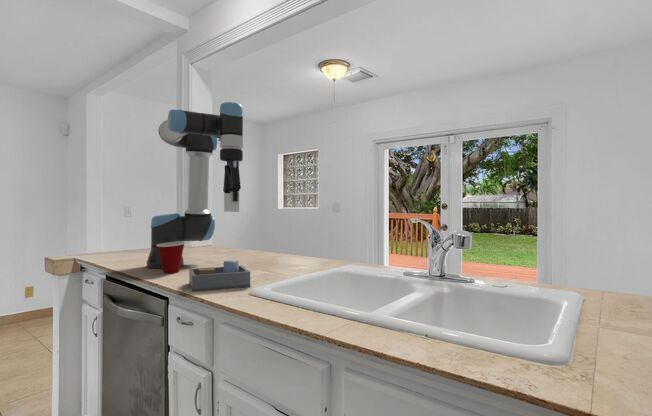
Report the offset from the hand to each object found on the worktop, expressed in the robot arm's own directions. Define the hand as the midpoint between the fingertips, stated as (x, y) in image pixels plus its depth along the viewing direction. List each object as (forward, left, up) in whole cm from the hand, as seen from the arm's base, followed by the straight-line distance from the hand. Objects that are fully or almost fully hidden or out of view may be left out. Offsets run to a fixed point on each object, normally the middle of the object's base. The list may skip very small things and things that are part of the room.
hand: (231, 211), depth 124 cm
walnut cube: (0, -8, -24) cm, 25 cm away
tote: (0, -4, -25) cm, 25 cm away
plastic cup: (-33, -18, -25) cm, 45 cm away
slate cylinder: (0, 0, -24) cm, 24 cm away
